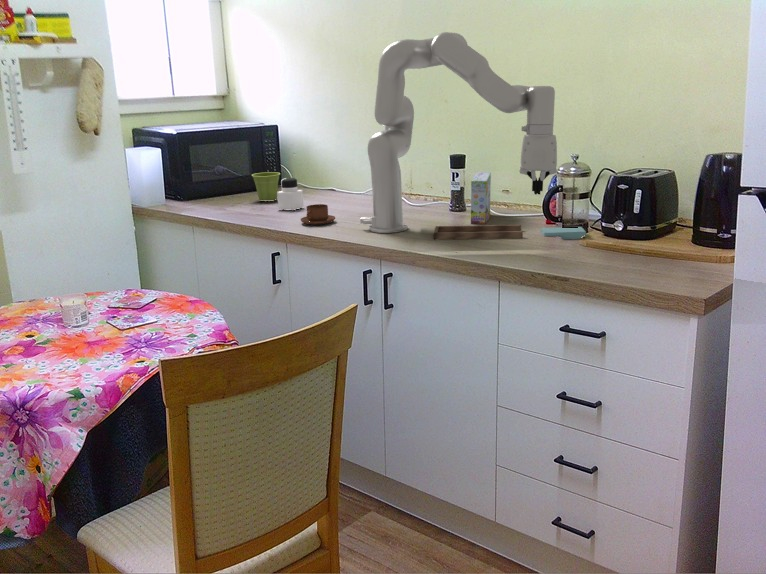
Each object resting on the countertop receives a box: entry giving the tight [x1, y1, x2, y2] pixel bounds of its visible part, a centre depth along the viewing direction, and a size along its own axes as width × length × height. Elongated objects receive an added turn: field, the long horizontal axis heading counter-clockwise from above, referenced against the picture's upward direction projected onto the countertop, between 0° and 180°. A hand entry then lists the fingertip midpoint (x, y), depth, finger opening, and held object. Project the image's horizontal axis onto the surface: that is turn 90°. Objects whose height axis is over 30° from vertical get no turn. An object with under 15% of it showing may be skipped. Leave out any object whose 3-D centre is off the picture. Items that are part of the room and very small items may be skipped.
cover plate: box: [540, 226, 587, 240], centre depth 222 cm, size 12×7×2 cm, turn 87°
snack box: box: [470, 172, 492, 225], centre depth 249 cm, size 21×6×15 cm, turn 168°
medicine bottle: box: [277, 177, 305, 210], centre depth 287 cm, size 7×7×12 cm
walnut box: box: [433, 224, 524, 240], centre depth 225 cm, size 26×10×3 cm, turn 83°
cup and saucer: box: [300, 203, 336, 226], centre depth 258 cm, size 12×12×6 cm
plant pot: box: [251, 171, 281, 201], centre depth 309 cm, size 12×12×11 cm
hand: (537, 193), depth 219 cm, fingers closed
